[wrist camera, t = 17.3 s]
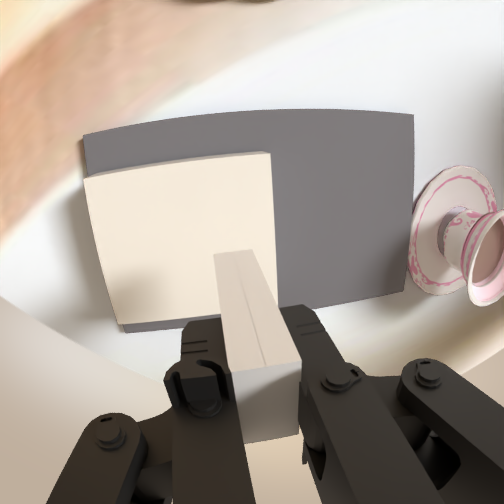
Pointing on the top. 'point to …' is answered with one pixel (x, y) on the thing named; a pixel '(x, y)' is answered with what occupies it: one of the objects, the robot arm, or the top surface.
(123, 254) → the tile
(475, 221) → the teacup
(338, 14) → the top surface
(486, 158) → the top surface
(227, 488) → the robot arm
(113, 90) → the top surface
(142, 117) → the top surface
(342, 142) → the mat
